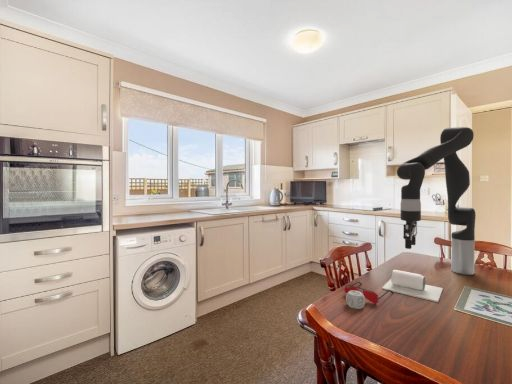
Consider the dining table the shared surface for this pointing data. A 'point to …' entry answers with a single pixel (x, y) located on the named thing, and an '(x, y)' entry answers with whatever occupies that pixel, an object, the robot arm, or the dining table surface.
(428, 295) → the mat
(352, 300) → the die
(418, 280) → the can
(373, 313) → the dining table surface
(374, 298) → the glasses
